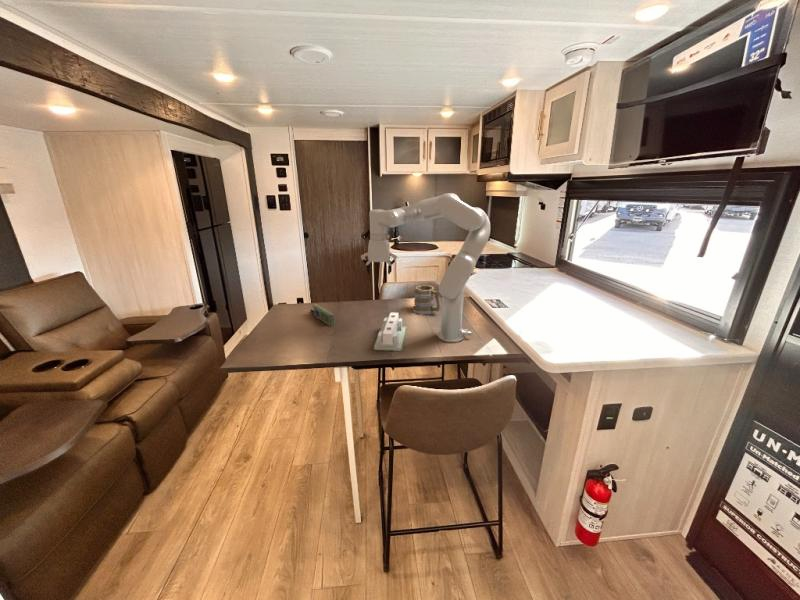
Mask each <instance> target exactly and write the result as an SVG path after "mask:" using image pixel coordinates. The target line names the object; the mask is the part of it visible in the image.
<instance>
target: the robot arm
mask: <svg viewBox="0 0 800 600" xmlns="http://www.w3.org/2000/svg"><path fill="white" fill-rule="evenodd" d="M442 217H444V218H446V219H447V220H448V221H450V222H452V223H454V224H455V225H456V226H458V227H460V228H462V229H464V230H466V231H468V234H467V237H465V239H464V243H463V244H462V246H461V247H460V250H459V252H458V253H457V254H456V255H455V256H454V257H453V258H452V260H451V262H450V263H449V265H448V267H447V269H446V271H445V272H444V275H443V276H442V279H441V280H440V282H439V286H438V291H439V292H440V296H441V297H442V299H441V315H440V317H441V318H440V319H441V321H440V330H439V331H437V333H436V334H437V336H436V337H437V338H438V339H439V340H440V341H443V342H446V343H459V342H461V341H463V340H464V339H465V336H472V331H471V330H470V331H469V329H466V328H465V329H464V328H463V326H462V324H463V309H464V298H465V297H464V296H465V289H466V285H467V282H468V281H469V279H470V277H471V275H472V273H473V271H475V269H476V268H475V267H476V265H477V263H478V260H479V258H480V256H481V255H482V253H483V251H484V248H485V247H486V245H487V243H488V240H489V239H490V236H491V221H490V219H489V217H488V215H487V213H486V212H485V211H484V210H483V209H482V208H480V207H477V206H475V207H472V206H470V205H469V204H467V203H466V202H463V200H461V199H460V197H459V196H458V195H457V194H456V193H452V192H450V193H443V194H441V195H438V196H433V197H429V198H426V199H422V200H420V201H418V202H416V203H414V204H409V205H406V206H403V207H399V208H393V209H386V210H384V209H379V208H378V209H371V210H370V211H369V236H370V239H369V240H368V247H367V252H365V253H364V254H361V256H360V259H361V260H362V263H364V264H365V265H366V271H367V273H368V274H371V273H372V265H371V263H387V265H388V266H387V273H388V274H387V275H390V274H391V272H392V271H393V270H392V265H394V264H395V262H396V261H397V258H398V255H396V254H394V253H392V252H391V249H390V243H389V242H390V241H389V238H390V234H388V233H387V228H395V227H398V226H402V225H405V224H409V223H414V222H419V221H422V222H425V221H429V220H433V219H438V218H442ZM366 257H367V258H366ZM391 257H392V258H393V259H392V260H391Z"/></svg>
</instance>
